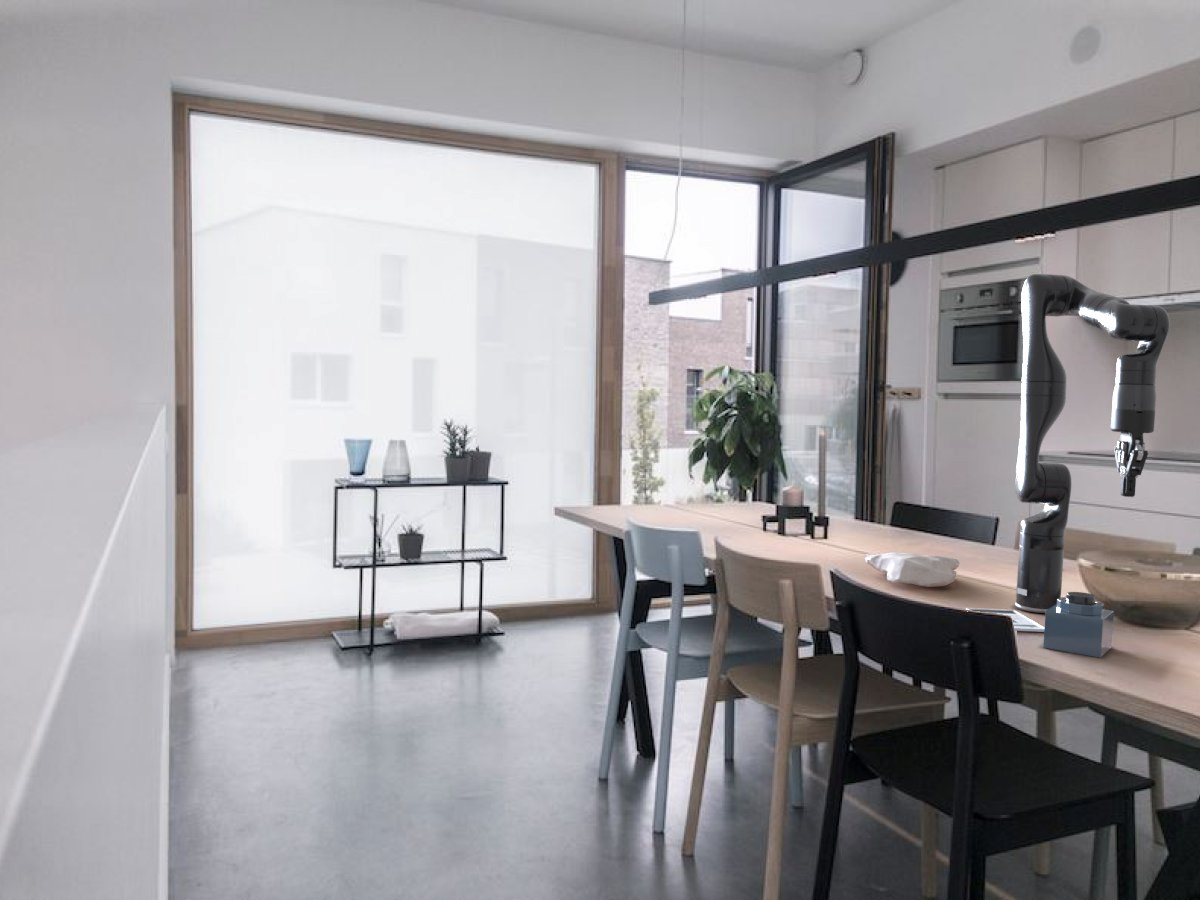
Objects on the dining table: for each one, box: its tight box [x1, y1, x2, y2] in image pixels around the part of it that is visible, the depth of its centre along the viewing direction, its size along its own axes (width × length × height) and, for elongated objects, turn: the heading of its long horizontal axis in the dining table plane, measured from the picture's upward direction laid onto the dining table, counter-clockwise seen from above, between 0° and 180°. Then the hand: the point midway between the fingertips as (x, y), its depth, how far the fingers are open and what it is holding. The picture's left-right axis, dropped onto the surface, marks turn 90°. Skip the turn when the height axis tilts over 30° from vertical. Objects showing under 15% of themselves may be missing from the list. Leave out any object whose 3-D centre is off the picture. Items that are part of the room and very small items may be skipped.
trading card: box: [965, 607, 1045, 633], centre depth 211 cm, size 11×1×18 cm
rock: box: [864, 551, 960, 588], centre depth 257 cm, size 8×23×30 cm
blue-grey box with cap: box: [1042, 596, 1115, 658], centre depth 191 cm, size 10×10×9 cm
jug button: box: [1065, 591, 1096, 605], centre depth 190 cm, size 5×5×2 cm
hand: (1127, 496), depth 195 cm, fingers closed
